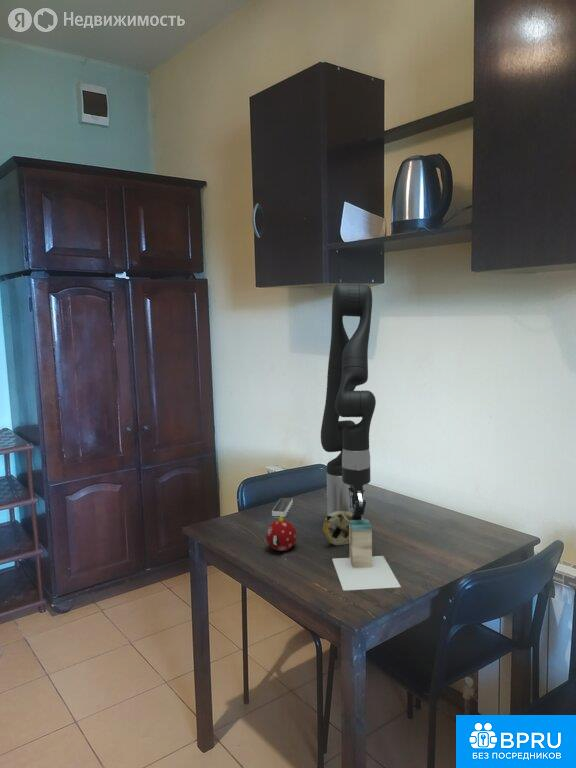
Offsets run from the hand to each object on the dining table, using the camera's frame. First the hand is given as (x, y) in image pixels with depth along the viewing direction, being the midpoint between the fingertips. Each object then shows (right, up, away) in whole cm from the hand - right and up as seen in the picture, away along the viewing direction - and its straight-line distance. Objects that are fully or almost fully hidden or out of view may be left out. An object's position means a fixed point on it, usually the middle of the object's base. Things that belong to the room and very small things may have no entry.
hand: (356, 527), depth 155 cm
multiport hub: (-20, -5, +41) cm, 46 cm away
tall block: (+1, -9, -4) cm, 10 cm away
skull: (-3, -8, +12) cm, 14 cm away
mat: (+1, -10, -9) cm, 13 cm away
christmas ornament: (-20, -9, +8) cm, 23 cm away
